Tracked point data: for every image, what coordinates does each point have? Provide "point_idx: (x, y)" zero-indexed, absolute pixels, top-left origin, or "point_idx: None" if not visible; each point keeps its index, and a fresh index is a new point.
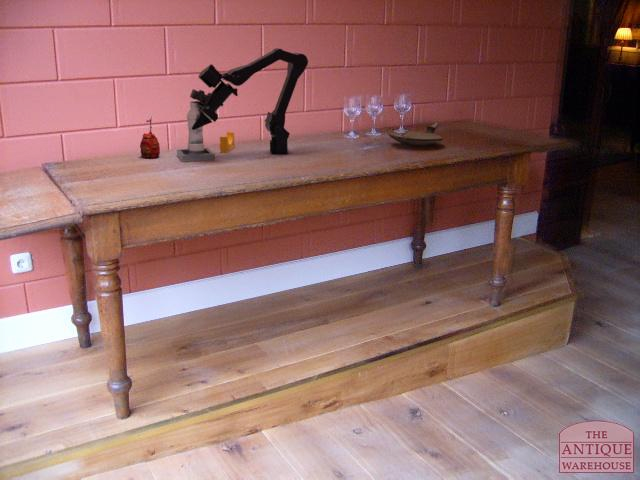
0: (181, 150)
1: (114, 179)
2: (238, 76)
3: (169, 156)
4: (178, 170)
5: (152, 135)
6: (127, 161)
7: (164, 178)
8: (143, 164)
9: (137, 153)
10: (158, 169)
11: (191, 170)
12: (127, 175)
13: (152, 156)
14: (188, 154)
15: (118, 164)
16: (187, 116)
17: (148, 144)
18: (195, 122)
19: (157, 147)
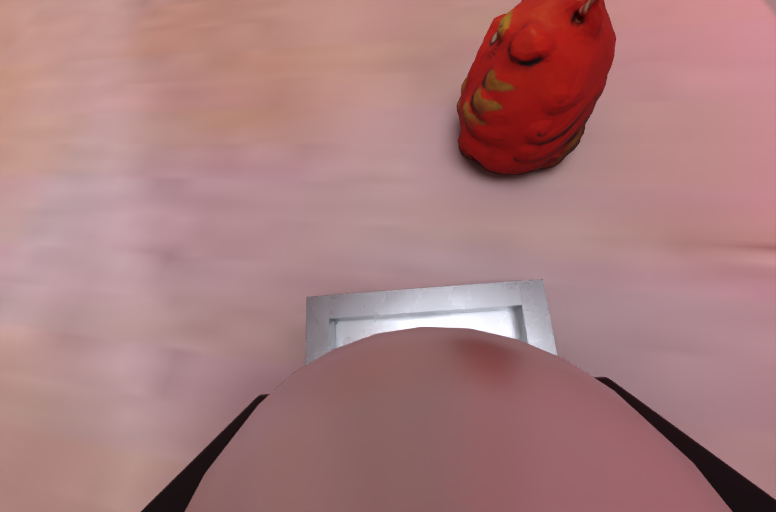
0: (521, 313)
1: (93, 18)
2: None
3: (511, 239)
4: (123, 263)
5: (516, 38)
6: (416, 37)
7: (6, 191)
8: (324, 105)
9: (630, 68)
10: (187, 170)
11: (92, 332)
12: (133, 54)
13: (459, 137)
14: None
15: (358, 8)
16: (359, 340)
17: (475, 65)
18: (172, 491)
19: (479, 134)
